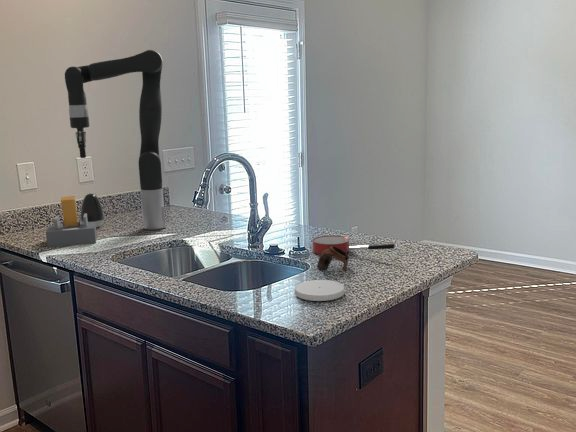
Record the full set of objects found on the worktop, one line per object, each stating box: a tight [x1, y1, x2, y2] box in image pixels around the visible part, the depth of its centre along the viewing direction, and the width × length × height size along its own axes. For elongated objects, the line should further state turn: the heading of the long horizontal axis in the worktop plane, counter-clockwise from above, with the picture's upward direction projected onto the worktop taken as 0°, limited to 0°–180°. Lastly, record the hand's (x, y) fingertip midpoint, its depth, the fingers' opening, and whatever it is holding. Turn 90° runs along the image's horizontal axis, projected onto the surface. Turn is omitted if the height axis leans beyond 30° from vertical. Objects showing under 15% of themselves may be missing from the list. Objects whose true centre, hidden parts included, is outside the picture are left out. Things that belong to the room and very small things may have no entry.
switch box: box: [45, 213, 98, 248], centre depth 244 cm, size 18×13×10 cm
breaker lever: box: [60, 196, 81, 227], centre depth 242 cm, size 6×2×13 cm, turn 105°
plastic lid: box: [294, 279, 345, 302], centre depth 172 cm, size 14×14×2 cm
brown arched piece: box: [316, 246, 350, 271], centre depth 196 cm, size 12×10×8 cm
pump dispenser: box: [80, 193, 105, 229], centre depth 269 cm, size 10×10×15 cm
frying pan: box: [312, 235, 396, 256], centre depth 212 cm, size 32×13×6 cm, turn 56°
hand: (83, 157), depth 256 cm, fingers closed
